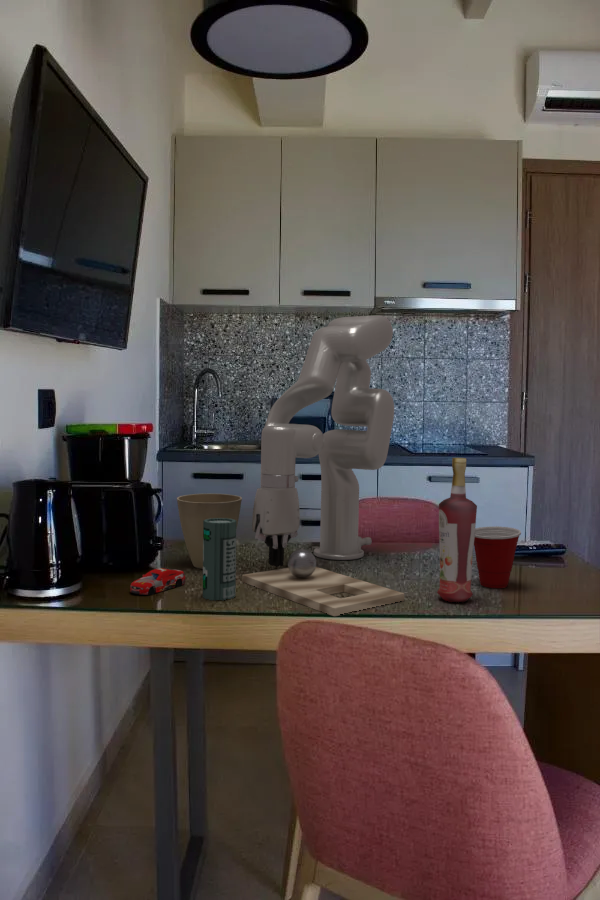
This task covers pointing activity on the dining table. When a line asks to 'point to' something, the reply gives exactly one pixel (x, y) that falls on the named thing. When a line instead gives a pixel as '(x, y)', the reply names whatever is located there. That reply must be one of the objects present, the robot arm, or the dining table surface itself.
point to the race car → (158, 581)
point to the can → (219, 558)
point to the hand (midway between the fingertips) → (276, 565)
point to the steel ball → (301, 563)
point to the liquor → (456, 538)
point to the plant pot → (204, 518)
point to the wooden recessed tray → (323, 590)
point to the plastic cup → (495, 554)
